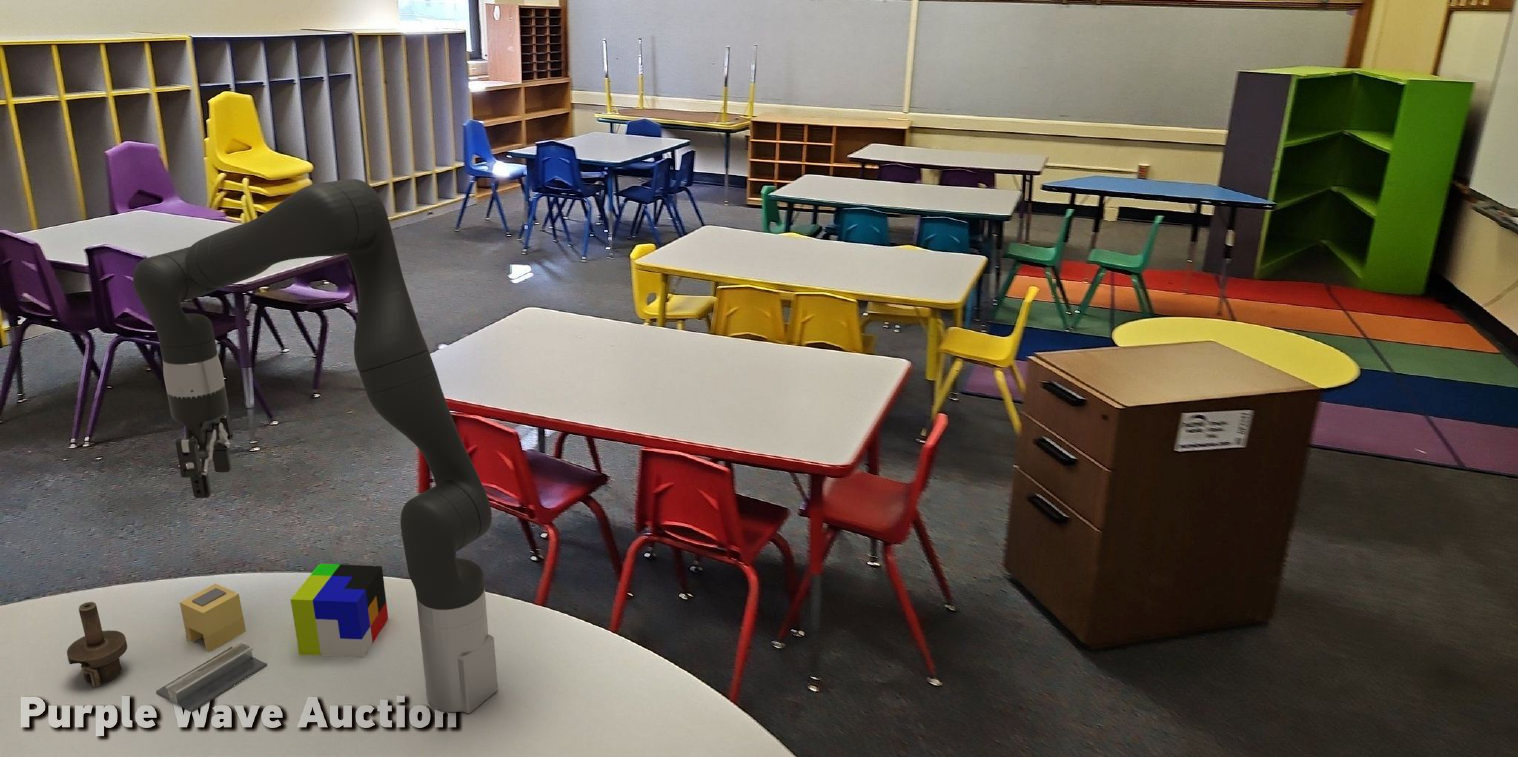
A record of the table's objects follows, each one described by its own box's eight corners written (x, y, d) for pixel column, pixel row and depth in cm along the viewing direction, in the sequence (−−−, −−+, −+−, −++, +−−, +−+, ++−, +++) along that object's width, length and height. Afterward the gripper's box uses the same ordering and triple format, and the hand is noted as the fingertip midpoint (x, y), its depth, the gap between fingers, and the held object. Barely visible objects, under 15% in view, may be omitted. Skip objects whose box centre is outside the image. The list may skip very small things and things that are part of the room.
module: (245, 631, 158) (238, 592, 155) (210, 651, 153) (202, 611, 150) (222, 620, 160) (215, 581, 157) (187, 640, 155) (179, 600, 152)
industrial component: (101, 696, 142) (84, 625, 138) (60, 687, 144) (41, 617, 140) (153, 657, 151) (138, 589, 147) (114, 648, 152) (97, 581, 148)
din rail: (266, 665, 150) (264, 653, 149) (191, 712, 140) (189, 699, 139) (231, 649, 153) (229, 637, 152) (156, 693, 143) (153, 680, 143)
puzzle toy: (364, 657, 153) (356, 602, 149) (299, 654, 153) (290, 599, 149) (388, 619, 162) (382, 566, 158) (327, 616, 162) (319, 563, 158)
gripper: (204, 403, 140) (223, 505, 146) (239, 367, 153) (255, 462, 159) (147, 404, 139) (168, 507, 145) (187, 368, 152) (204, 464, 158)
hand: (213, 483), depth 152 cm, fingers open, 8 cm apart
